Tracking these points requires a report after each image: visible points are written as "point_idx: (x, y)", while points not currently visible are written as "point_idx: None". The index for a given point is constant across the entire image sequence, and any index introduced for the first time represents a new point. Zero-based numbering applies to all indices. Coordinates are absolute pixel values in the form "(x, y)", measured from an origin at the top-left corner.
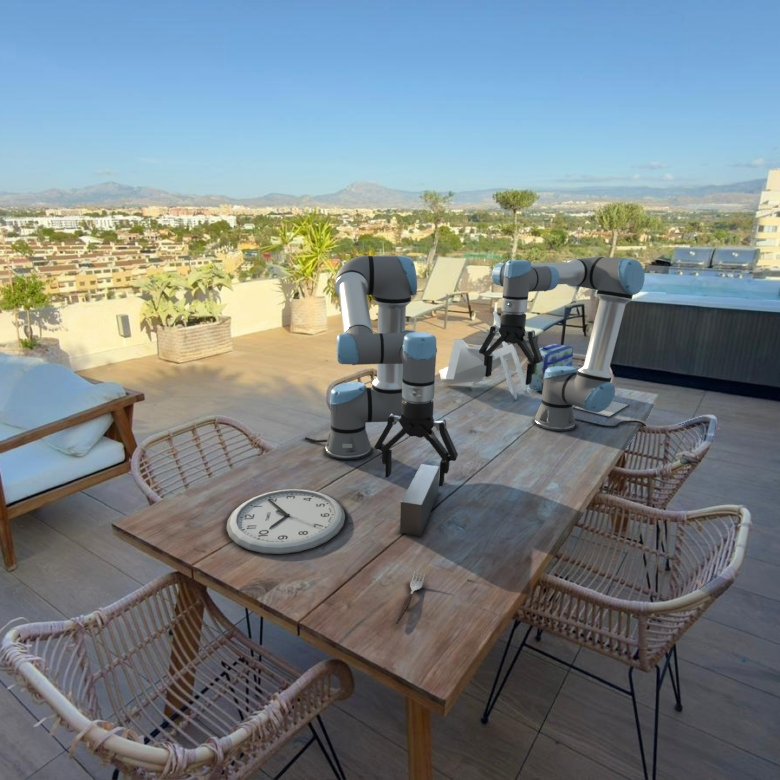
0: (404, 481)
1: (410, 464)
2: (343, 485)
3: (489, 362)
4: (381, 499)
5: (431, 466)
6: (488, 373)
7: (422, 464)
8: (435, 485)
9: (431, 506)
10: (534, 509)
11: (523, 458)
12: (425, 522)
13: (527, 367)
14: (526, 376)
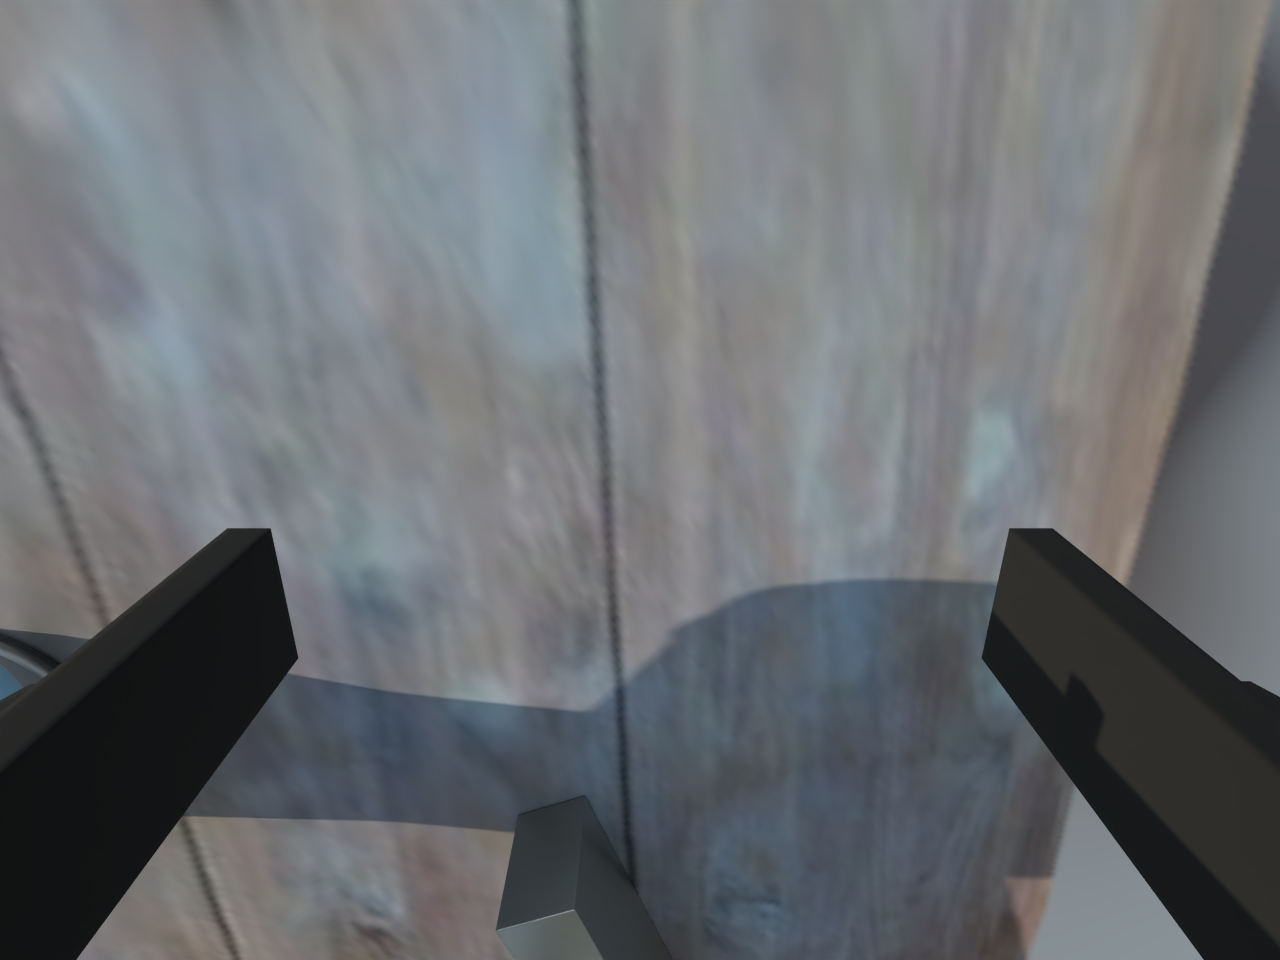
0: (414, 789)
1: (313, 662)
2: (273, 920)
3: (117, 839)
4: (449, 916)
5: (547, 927)
6: (263, 666)
7: (503, 933)
8: (607, 908)
9: (632, 899)
10: (959, 687)
11: (746, 214)
12: (665, 954)
13: (1195, 934)
14: (1061, 761)
